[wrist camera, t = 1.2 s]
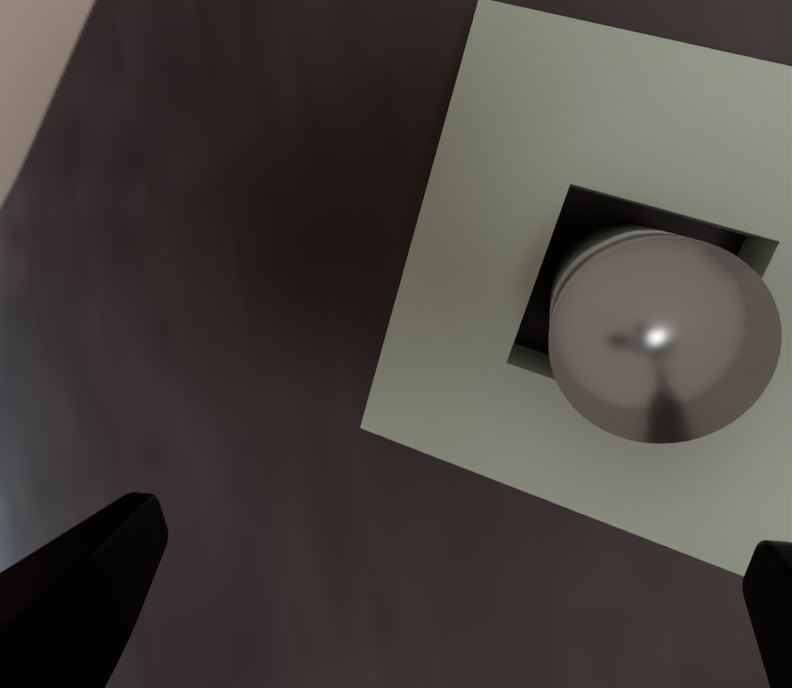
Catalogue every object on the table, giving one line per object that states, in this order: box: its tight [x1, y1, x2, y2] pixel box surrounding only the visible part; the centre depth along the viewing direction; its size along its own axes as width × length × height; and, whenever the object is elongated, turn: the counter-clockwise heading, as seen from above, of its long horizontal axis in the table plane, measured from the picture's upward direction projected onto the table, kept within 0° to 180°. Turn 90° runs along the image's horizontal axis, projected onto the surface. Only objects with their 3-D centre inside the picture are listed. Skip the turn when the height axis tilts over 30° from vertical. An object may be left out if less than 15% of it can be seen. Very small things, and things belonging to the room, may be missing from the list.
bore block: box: [360, 0, 792, 576], centre depth 19 cm, size 15×15×3 cm
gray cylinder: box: [549, 224, 782, 444], centre depth 17 cm, size 5×5×8 cm
